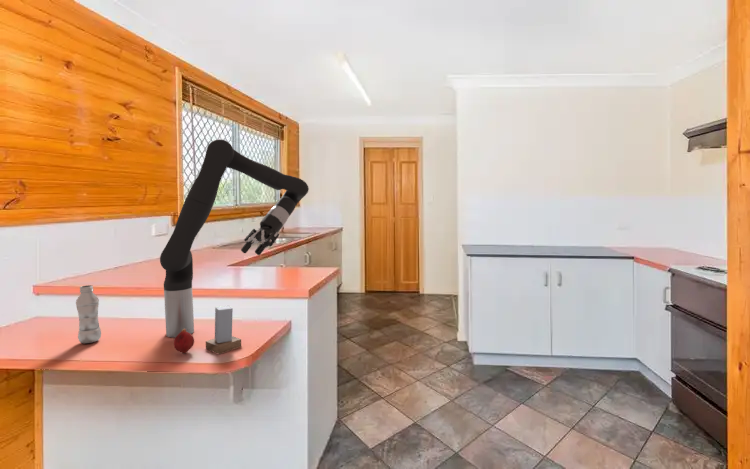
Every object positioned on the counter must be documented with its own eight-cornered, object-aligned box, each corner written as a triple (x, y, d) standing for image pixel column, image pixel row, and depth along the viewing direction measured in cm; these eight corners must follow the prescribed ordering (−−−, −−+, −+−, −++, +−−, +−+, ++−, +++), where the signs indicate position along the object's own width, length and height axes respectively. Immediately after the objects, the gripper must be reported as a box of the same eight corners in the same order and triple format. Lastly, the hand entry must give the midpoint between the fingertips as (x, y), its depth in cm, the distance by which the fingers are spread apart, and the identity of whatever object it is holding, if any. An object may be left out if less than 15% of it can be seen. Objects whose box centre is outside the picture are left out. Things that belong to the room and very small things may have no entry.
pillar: (214, 339, 121) (215, 306, 121) (228, 337, 124) (229, 305, 123) (217, 343, 118) (218, 310, 117) (231, 340, 120) (232, 308, 120)
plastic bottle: (100, 337, 131) (96, 283, 130) (103, 342, 127) (99, 286, 125) (77, 342, 127) (73, 286, 125) (79, 347, 122) (75, 289, 121)
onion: (185, 357, 113) (184, 332, 113) (170, 356, 114) (168, 331, 114) (198, 350, 119) (197, 326, 118) (183, 349, 120) (182, 325, 119)
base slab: (205, 350, 120) (205, 341, 120) (227, 342, 127) (227, 334, 127) (219, 355, 116) (219, 346, 115) (241, 347, 122) (241, 339, 122)
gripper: (257, 213, 140) (231, 245, 132) (281, 213, 132) (254, 247, 123) (269, 226, 145) (245, 257, 136) (292, 227, 136) (268, 260, 128)
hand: (249, 252), depth 130 cm, fingers open, 8 cm apart
